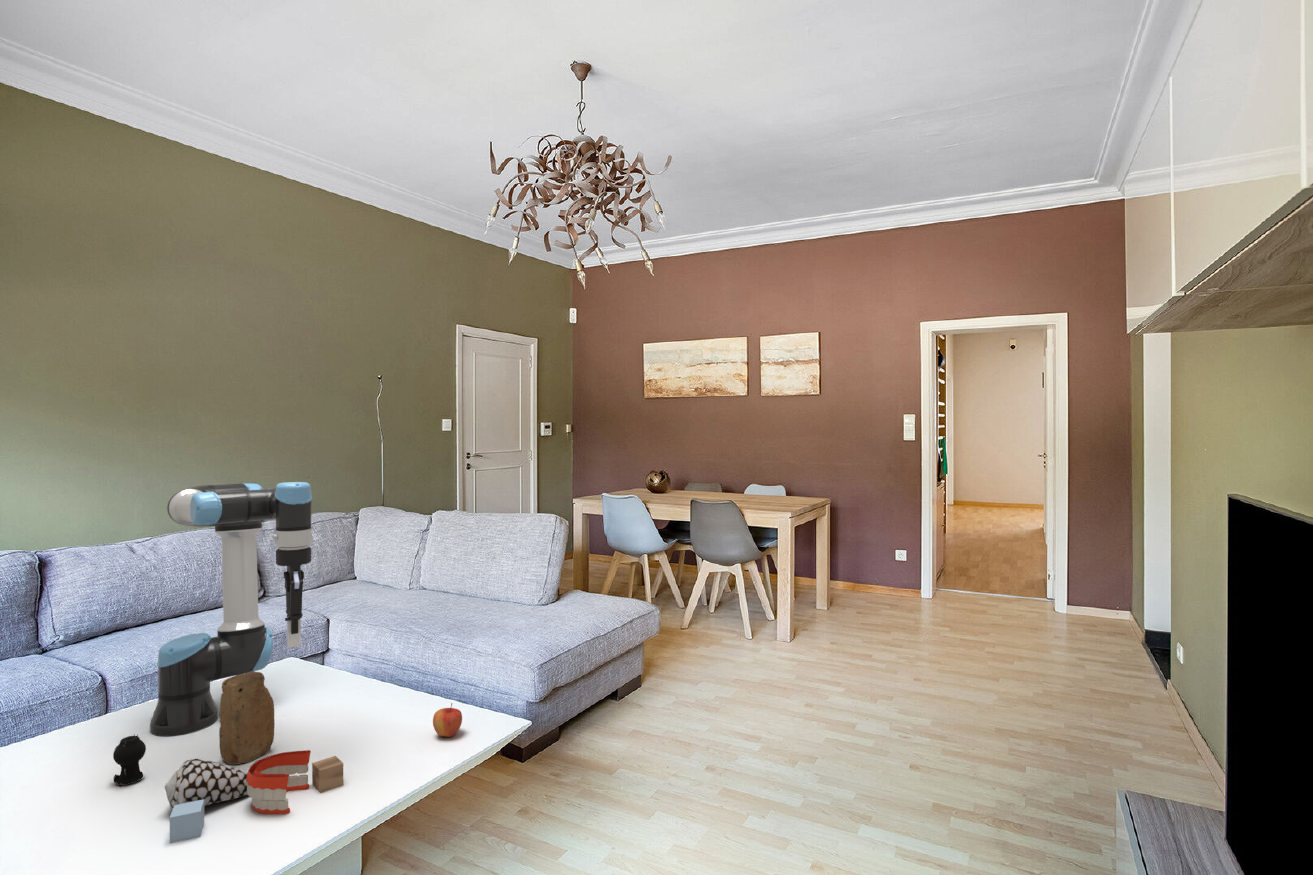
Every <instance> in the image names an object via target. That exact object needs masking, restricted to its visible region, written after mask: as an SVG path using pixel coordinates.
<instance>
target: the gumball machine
mask: <svg viewBox="0 0 1313 875" xmlns="http://www.w3.org/2000/svg"><path fill="white" fill-rule="evenodd" d="M146 751H147V746H146V744H145V742H144V741H143V740H142V739H141V738H140V737H139V734H135V733H133V735H130V736H126V737H123V738H122V739H121V740H119V743H118V745H116V747H115V748H114V751H113V753H112V756H113V760H114V762H115V763H116V764H117V765H119V766H120V774H115V775H113V783H114V784H116V785H118V786H119V788H121V786H124V785H131V784H134V783H136V782H138V781H141V780H142V779H143V778H144V772H142V771H141V769H140V768H141V767H140V763H139V762H140V761H141V760H142V759H143V758H144V757H145V754H146Z"/></svg>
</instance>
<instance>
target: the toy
mask: <svg viewBox="0 0 1313 875" xmlns="http://www.w3.org/2000/svg"><path fill="white" fill-rule="evenodd" d="M311 751H312V750H310V749H306V750H295V751H286V752H279V753H275V754H271V755H269V756H266V757H264V758H260V759H258V760H257V761H256V762H254V763H253V764H252V765H250V767H249V769H248V771H247V772H248V774H247V778H246V782H247V796H248V797H250V798H251V799H252V800H251V807H252V808H253V809H254V810H255V811H256V812H257V813H260V814H264V815H288V814H290V813H291V808H290V806H289V799H288V798H287V792H294V791H304V790H309V789H310V784H309V783H308V782H309V775H308V774H306V773H308V772H309V763H310V757H311V756H310V755H311ZM295 774H298V775H295Z"/></svg>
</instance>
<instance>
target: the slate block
mask: <svg viewBox="0 0 1313 875" xmlns="http://www.w3.org/2000/svg"><path fill="white" fill-rule="evenodd" d="M204 828H205V806H204V799H203V800H198V801H193V802H188V803H183V804H178V805H174V808H173V809H171V813H170V816H169V844H173V843H176V842H181V841H185V840H190V839H195V838H201V836H202V833H203V829H204Z"/></svg>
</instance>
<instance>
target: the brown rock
mask: <svg viewBox="0 0 1313 875" xmlns="http://www.w3.org/2000/svg"><path fill="white" fill-rule="evenodd" d="M221 691H222V693H221V696H220V704H219V706H220V707H219V724H220V727H219V730H218V731H219V732H218V734H219V735H218V736H219V737H218V739H219V751H220V752H219V753H220V757H221V759H222V760H223V761H224V762H225V763H226V764H229V765H240V764H245V763H246V762H247V763H249V762H252V761H255V760H257V759H258V758H259V757H262V756H264V755H265V754H267V753H268V752H269V750H270V749H271V747H272V745H273V743H274V738H275V702H274V699H273V697H272V695H271V693H270V691H269V689H268V687H266V686H265V676H264V673H262V672H261V671H254V672H253V671H251V672H247V673H245V674H240V675H236V676H231V677H227V679H226V678H225V679H224V680H223V681H222V683H221ZM263 754H264V755H263ZM261 755H262V756H261ZM256 758H257V759H256ZM254 759H255V760H254ZM247 763H246V764H247Z"/></svg>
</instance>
